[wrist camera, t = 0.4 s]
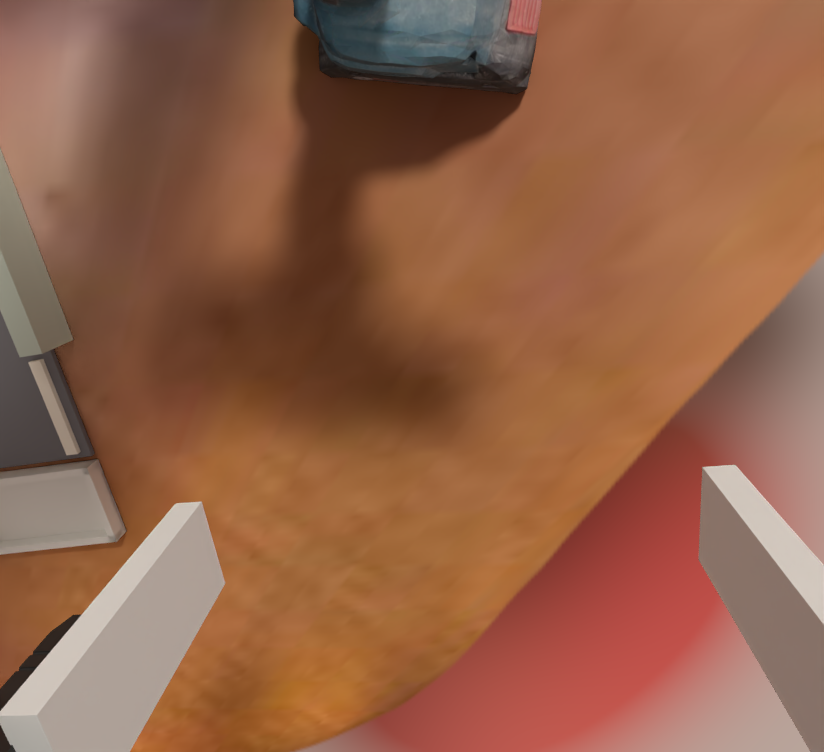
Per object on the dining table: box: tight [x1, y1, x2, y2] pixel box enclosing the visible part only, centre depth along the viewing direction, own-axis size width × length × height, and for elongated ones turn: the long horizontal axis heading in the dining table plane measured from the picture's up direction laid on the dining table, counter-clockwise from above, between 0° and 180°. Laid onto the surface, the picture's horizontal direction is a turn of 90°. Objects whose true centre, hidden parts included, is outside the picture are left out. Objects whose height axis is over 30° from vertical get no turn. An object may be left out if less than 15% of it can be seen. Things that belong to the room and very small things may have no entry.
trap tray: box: [0, 459, 126, 555], centre depth 49 cm, size 7×13×2 cm, turn 100°
